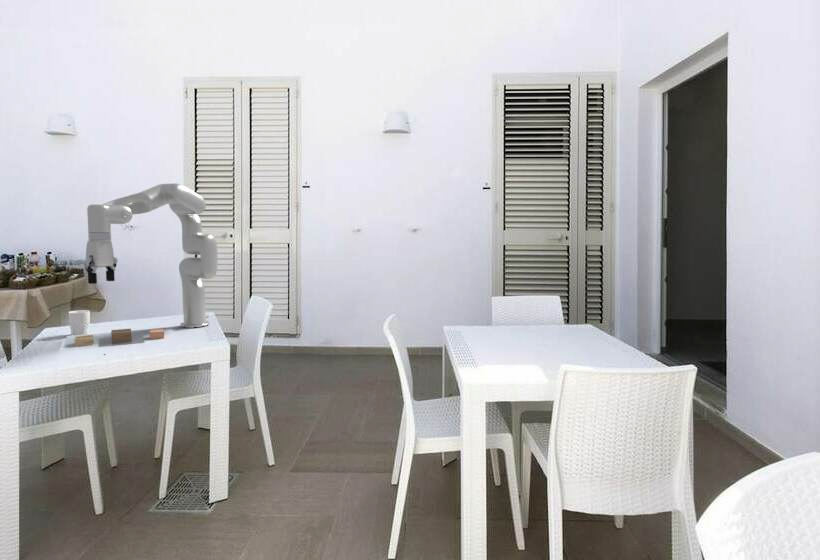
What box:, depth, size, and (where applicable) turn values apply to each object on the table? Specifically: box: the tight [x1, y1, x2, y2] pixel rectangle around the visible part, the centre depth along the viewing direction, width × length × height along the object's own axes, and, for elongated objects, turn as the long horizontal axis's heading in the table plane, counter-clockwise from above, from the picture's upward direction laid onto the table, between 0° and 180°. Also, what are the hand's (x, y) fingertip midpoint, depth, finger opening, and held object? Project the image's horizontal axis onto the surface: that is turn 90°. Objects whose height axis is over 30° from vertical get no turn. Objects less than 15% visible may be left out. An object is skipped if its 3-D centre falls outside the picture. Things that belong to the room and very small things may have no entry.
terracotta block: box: [149, 328, 165, 340], centre depth 232 cm, size 5×5×4 cm
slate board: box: [98, 334, 145, 348], centre depth 226 cm, size 16×16×1 cm
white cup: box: [68, 309, 91, 336], centre depth 242 cm, size 8×8×10 cm
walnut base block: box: [110, 328, 132, 343], centre depth 226 cm, size 7×7×4 cm
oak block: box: [74, 334, 94, 347], centre depth 220 cm, size 6×6×4 cm
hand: (101, 282), depth 216 cm, fingers open, 9 cm apart
